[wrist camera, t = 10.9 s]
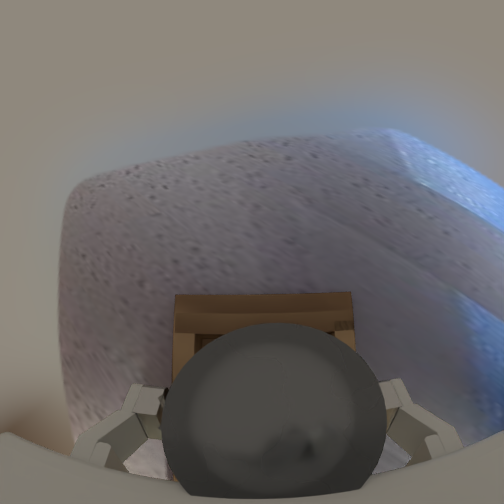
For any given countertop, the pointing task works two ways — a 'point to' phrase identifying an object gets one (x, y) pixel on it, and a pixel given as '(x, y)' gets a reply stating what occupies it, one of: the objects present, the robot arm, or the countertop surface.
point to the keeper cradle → (255, 318)
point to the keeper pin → (274, 416)
